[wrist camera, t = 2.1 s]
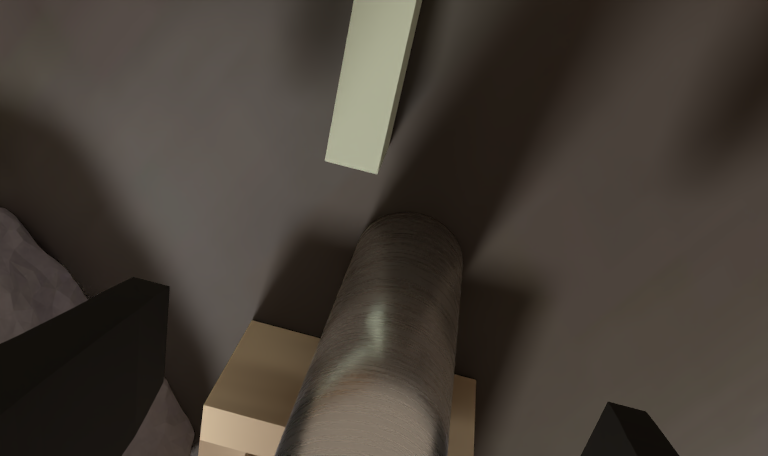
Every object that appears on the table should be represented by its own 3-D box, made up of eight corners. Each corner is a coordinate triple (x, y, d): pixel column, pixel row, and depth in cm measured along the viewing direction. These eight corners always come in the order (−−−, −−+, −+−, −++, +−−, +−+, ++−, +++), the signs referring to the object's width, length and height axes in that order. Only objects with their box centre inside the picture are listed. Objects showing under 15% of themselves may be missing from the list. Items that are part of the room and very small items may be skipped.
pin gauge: (476, 228, 14) (458, 570, 7) (447, 318, 15) (407, 691, 8) (366, 199, 14) (237, 508, 7) (346, 291, 15) (217, 638, 8)
